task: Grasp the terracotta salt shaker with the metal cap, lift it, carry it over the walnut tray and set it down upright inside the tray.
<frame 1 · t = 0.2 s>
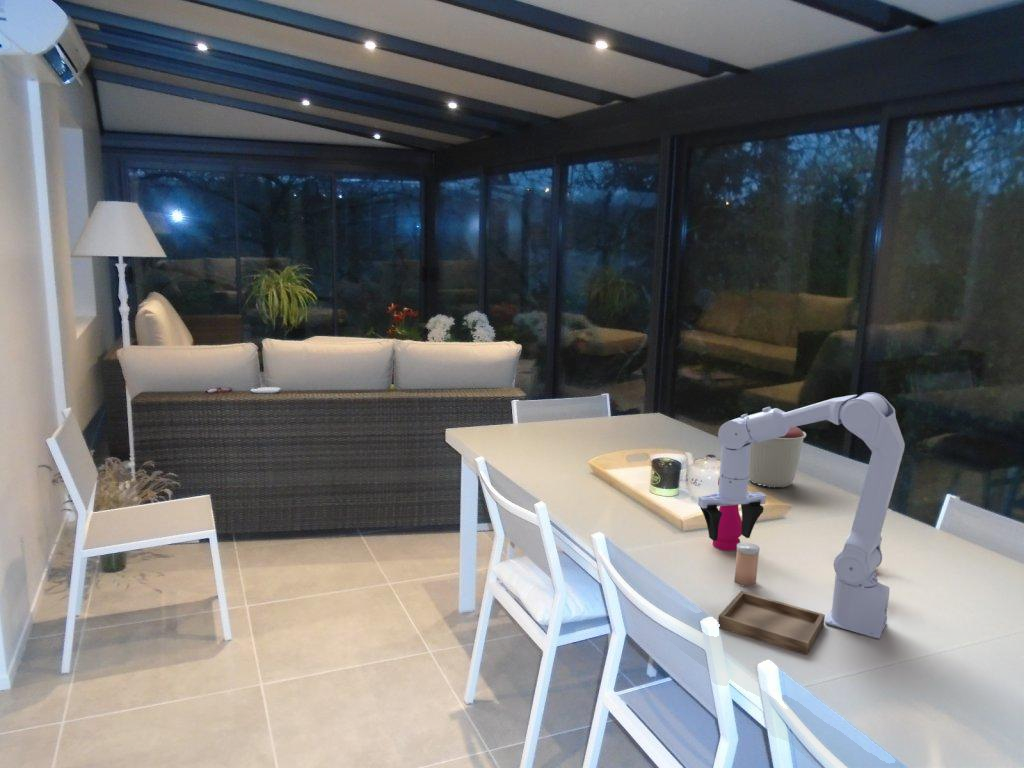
hand: (729, 537, 155), 10 cm above the table, tool pointing down, fingers open, 7 cm apart
pepper mill: (726, 546, 177), on the table
walnut tray: (771, 626, 139), on the table
canister: (769, 483, 226), on the table
architectural model: (864, 567, 168), on the table
terracotta shaker: (745, 581, 158), on the table
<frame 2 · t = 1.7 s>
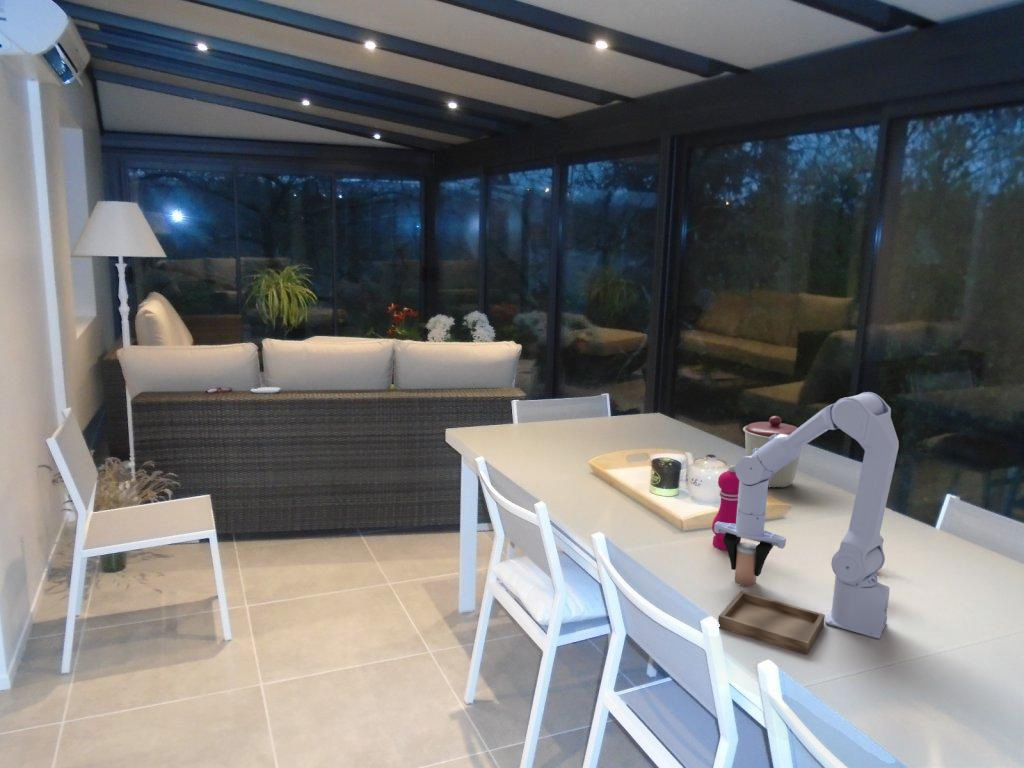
hand: (746, 571, 157), 2 cm above the table, tool pointing down, fingers closed on terracotta shaker, 4 cm apart
terracotta shaker: (745, 581, 158), on the table, touching gripper
everything else where it was.
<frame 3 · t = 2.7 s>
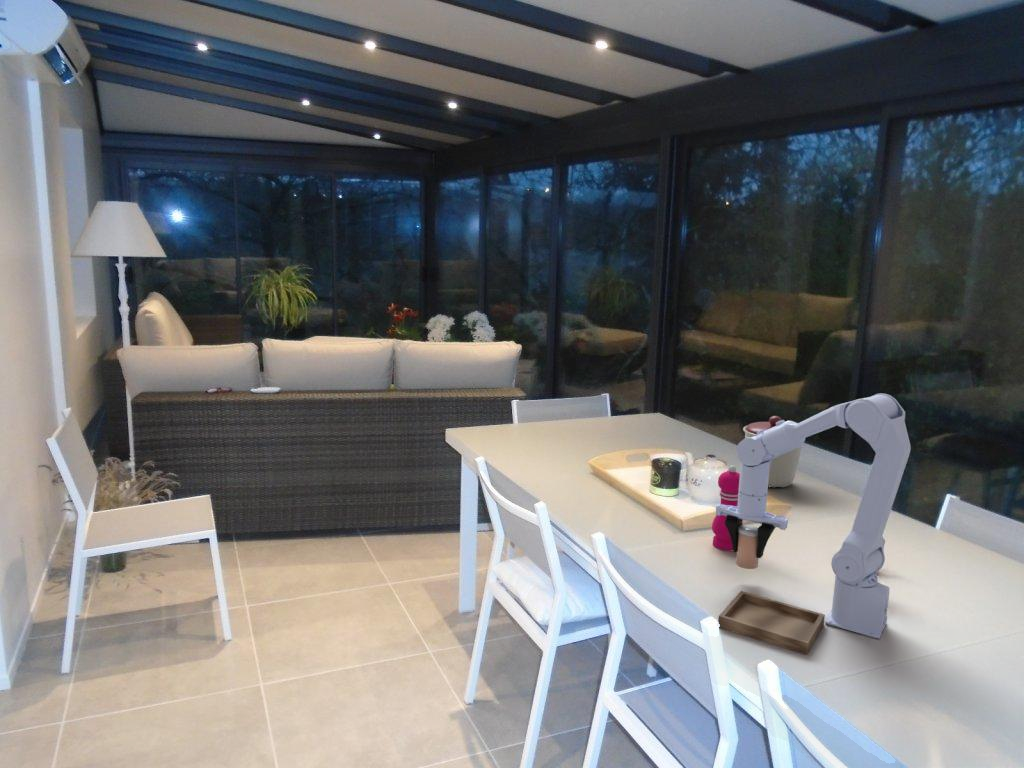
hand: (747, 553, 156), 6 cm above the table, tool pointing down, fingers closed on terracotta shaker, 4 cm apart
terracotta shaker: (746, 564, 157), point 4 cm above the table, touching gripper
everything else where it was.
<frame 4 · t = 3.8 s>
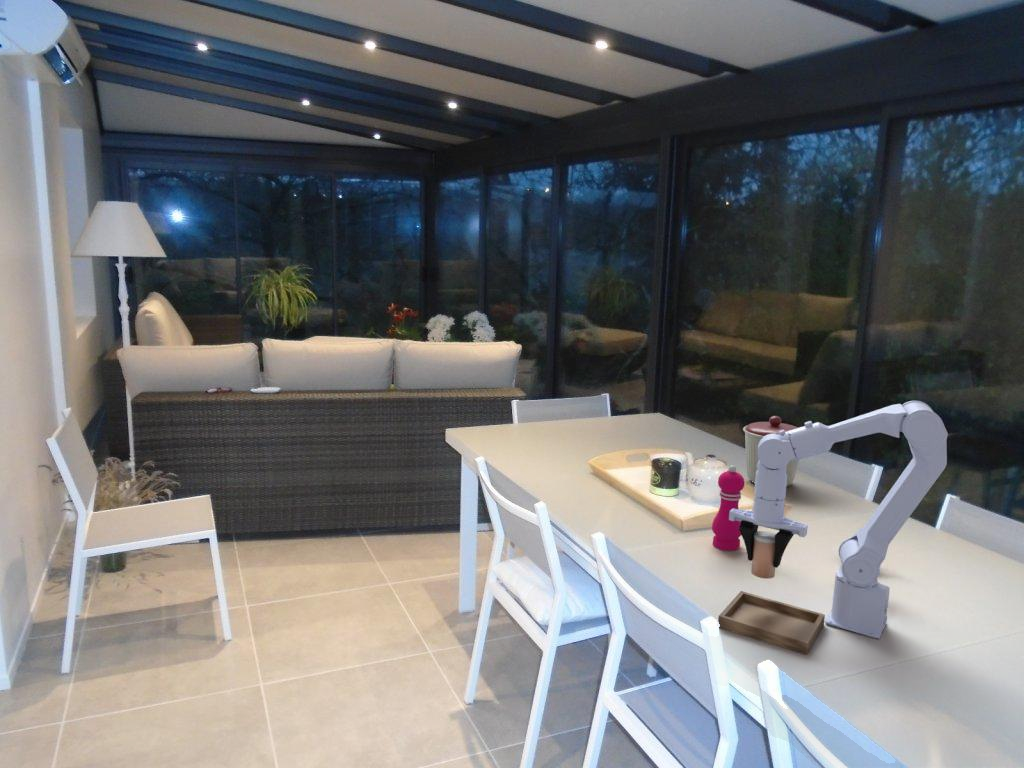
hand: (763, 562, 145), 9 cm above the table, tool pointing down, fingers closed on terracotta shaker, 4 cm apart
terracotta shaker: (762, 573, 146), point 7 cm above the table, touching gripper
everything else where it was.
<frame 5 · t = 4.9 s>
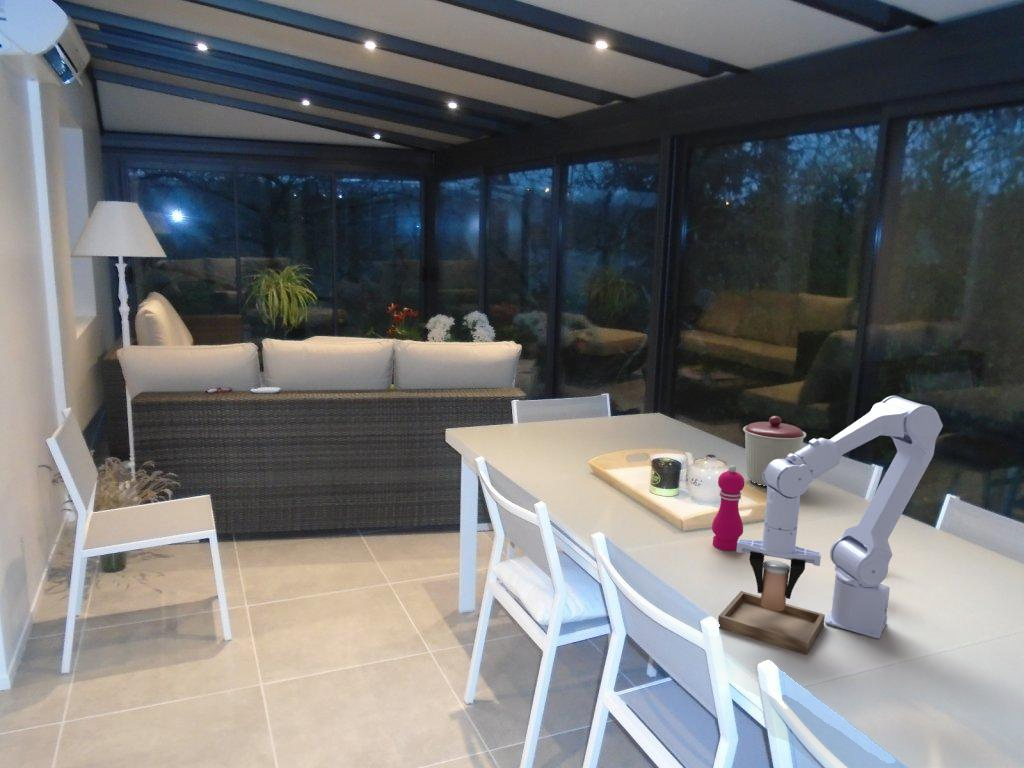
hand: (773, 593, 138), 7 cm above the table, tool pointing down, fingers closed on terracotta shaker, 4 cm apart
terracotta shaker: (772, 605, 138), point 4 cm above the table, touching gripper
everything else where it was.
when the fingers open (4 cm above the table, at t = 5.7 s): terracotta shaker drops 1 cm, resting on walnut tray.
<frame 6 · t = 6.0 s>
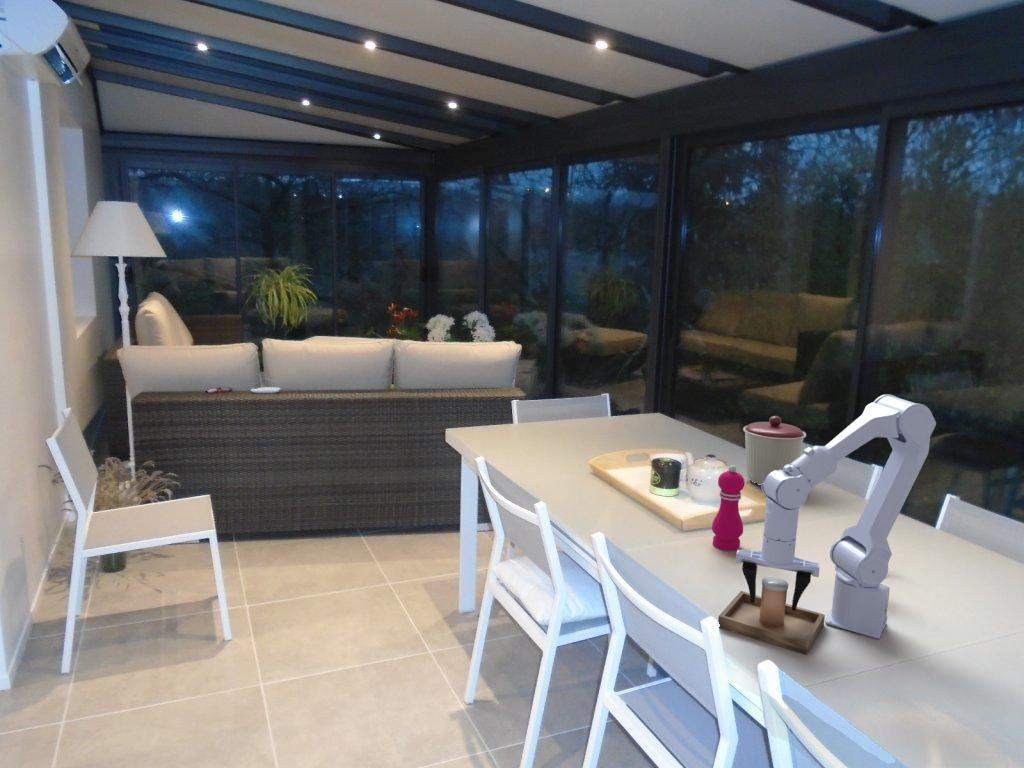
hand: (773, 604, 138), 4 cm above the table, tool pointing down, fingers open, 7 cm apart
terracotta shaker: (771, 621, 139), point 1 cm above the table, touching walnut tray
everything else where it was.
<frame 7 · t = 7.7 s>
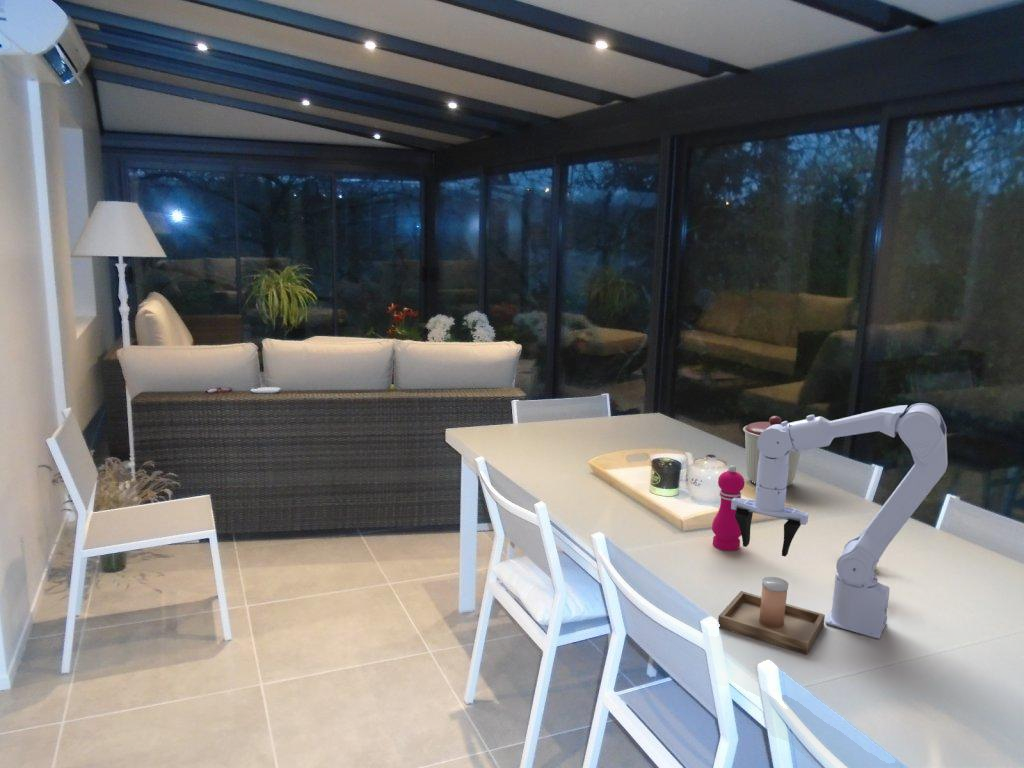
hand: (765, 549, 148), 10 cm above the table, tool pointing down, fingers open, 7 cm apart
nothing on the table moved.
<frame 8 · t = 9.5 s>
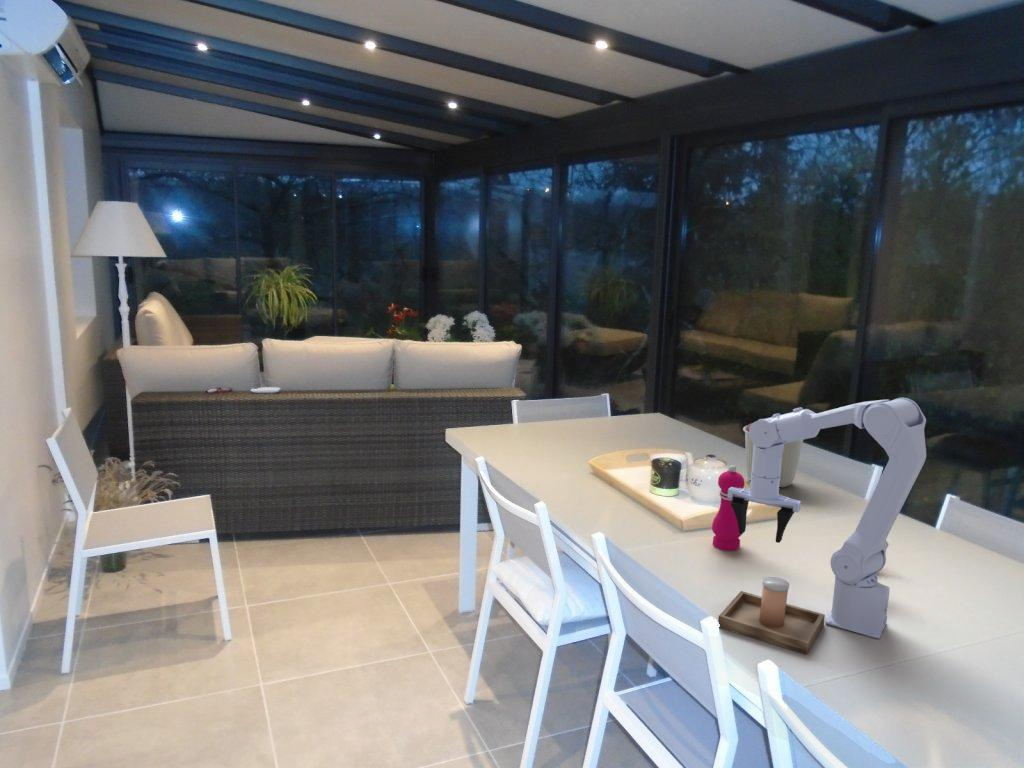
hand: (760, 536, 155), 10 cm above the table, tool pointing down, fingers open, 7 cm apart
nothing on the table moved.
at the end: terracotta shaker inside the target area on the walnut tray (0.2 cm from its centre), point 0.8 cm above the walnut tray's base; terracotta shaker tilted 1°; the gripper is holding nothing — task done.
